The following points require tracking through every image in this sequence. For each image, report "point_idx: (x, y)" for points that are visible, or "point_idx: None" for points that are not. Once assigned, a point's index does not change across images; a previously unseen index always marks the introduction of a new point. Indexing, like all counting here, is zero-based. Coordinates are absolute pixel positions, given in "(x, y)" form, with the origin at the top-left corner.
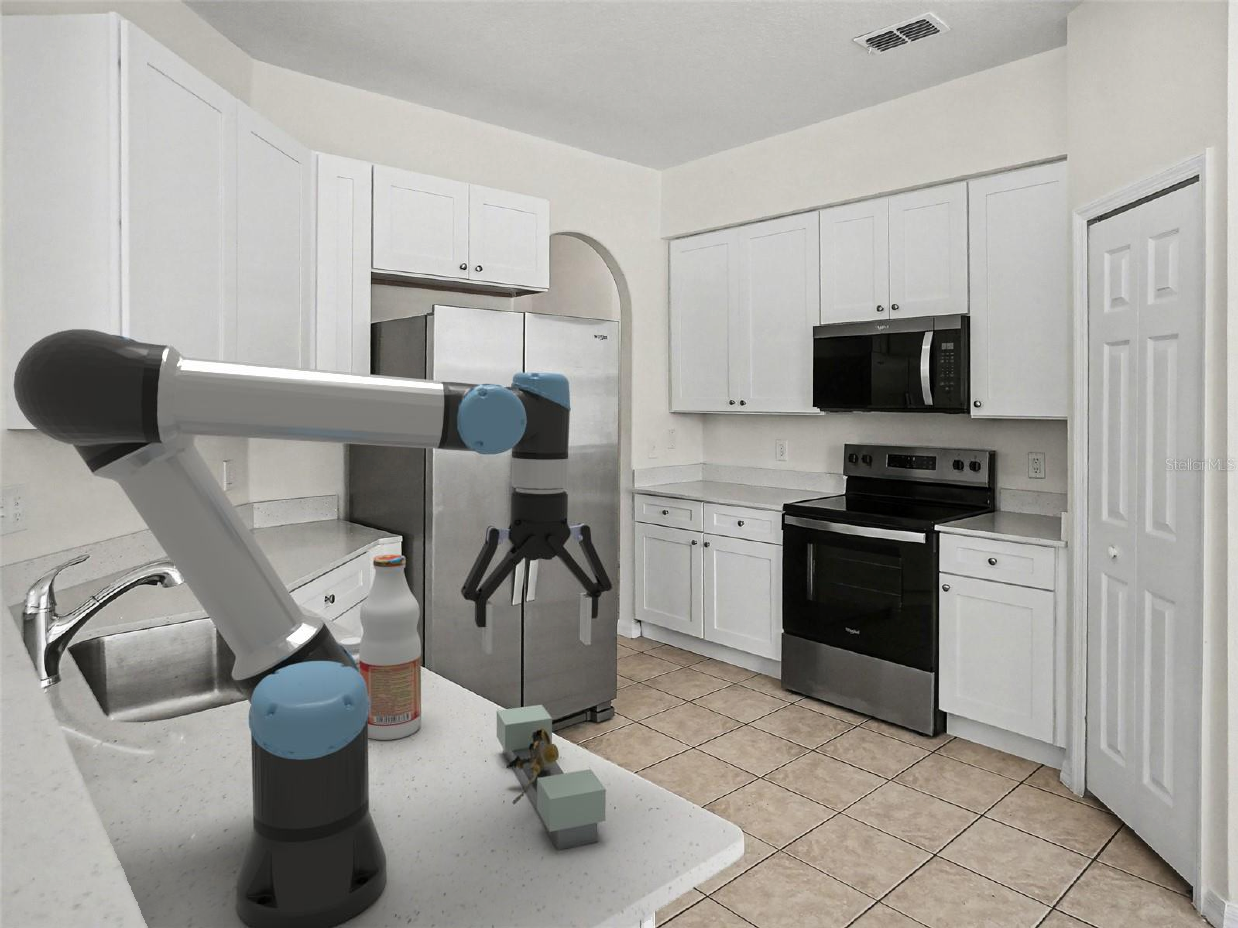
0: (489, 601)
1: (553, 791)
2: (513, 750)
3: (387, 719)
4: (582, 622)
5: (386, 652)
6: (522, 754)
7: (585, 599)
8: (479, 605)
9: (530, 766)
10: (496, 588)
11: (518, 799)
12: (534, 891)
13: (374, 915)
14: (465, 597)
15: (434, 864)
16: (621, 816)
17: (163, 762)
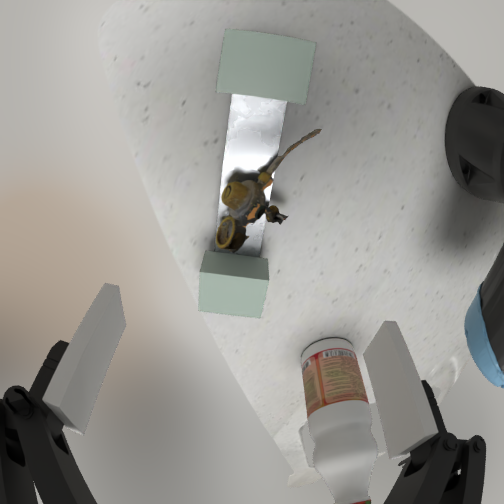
0: (406, 449)
1: (301, 57)
2: (256, 256)
3: (346, 353)
4: (103, 351)
5: (360, 412)
6: (251, 243)
7: (66, 405)
8: (441, 431)
9: (270, 185)
10: (423, 484)
11: (311, 132)
12: (346, 9)
13: (465, 78)
14: (482, 439)
15: (411, 106)
16: (186, 81)
17: (456, 346)
